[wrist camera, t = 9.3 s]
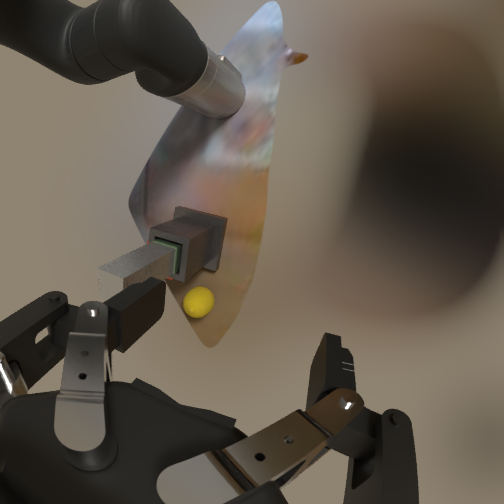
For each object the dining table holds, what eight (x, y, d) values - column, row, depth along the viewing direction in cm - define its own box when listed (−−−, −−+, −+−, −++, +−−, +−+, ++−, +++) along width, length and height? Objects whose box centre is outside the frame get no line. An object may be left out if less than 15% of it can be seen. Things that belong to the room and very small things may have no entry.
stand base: (179, 206, 51) (143, 216, 40) (227, 218, 50) (200, 232, 38) (172, 254, 54) (139, 274, 43) (218, 268, 53) (191, 294, 42)
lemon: (200, 307, 56) (183, 326, 49) (190, 283, 55) (172, 299, 48) (223, 303, 55) (208, 323, 47) (214, 278, 54) (197, 294, 46)
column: (173, 231, 45) (96, 266, 28) (195, 237, 45) (123, 278, 27) (170, 254, 47) (98, 298, 29) (191, 261, 46) (124, 310, 29)
